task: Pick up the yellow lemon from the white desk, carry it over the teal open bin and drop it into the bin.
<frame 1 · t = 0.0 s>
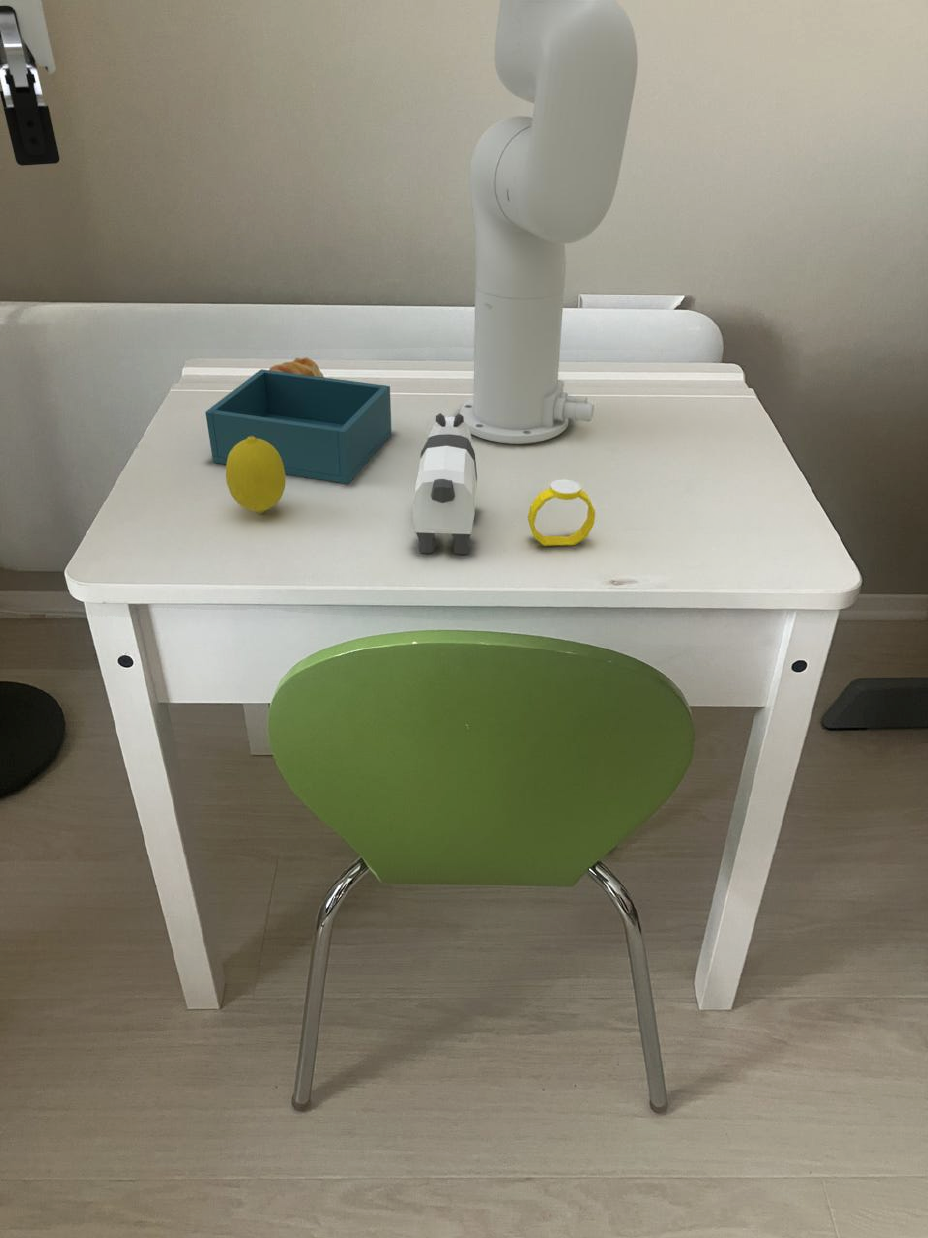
hand: (35, 152, 80), 31 cm above the table, tool pointing down, fingers open, 9 cm apart
giant panda: (447, 526, 93), on the table
teal open bin: (304, 448, 106), on the table
pastry: (290, 396, 118), on the table
lemon: (260, 514, 95), on the table
watch: (559, 544, 90), on the table
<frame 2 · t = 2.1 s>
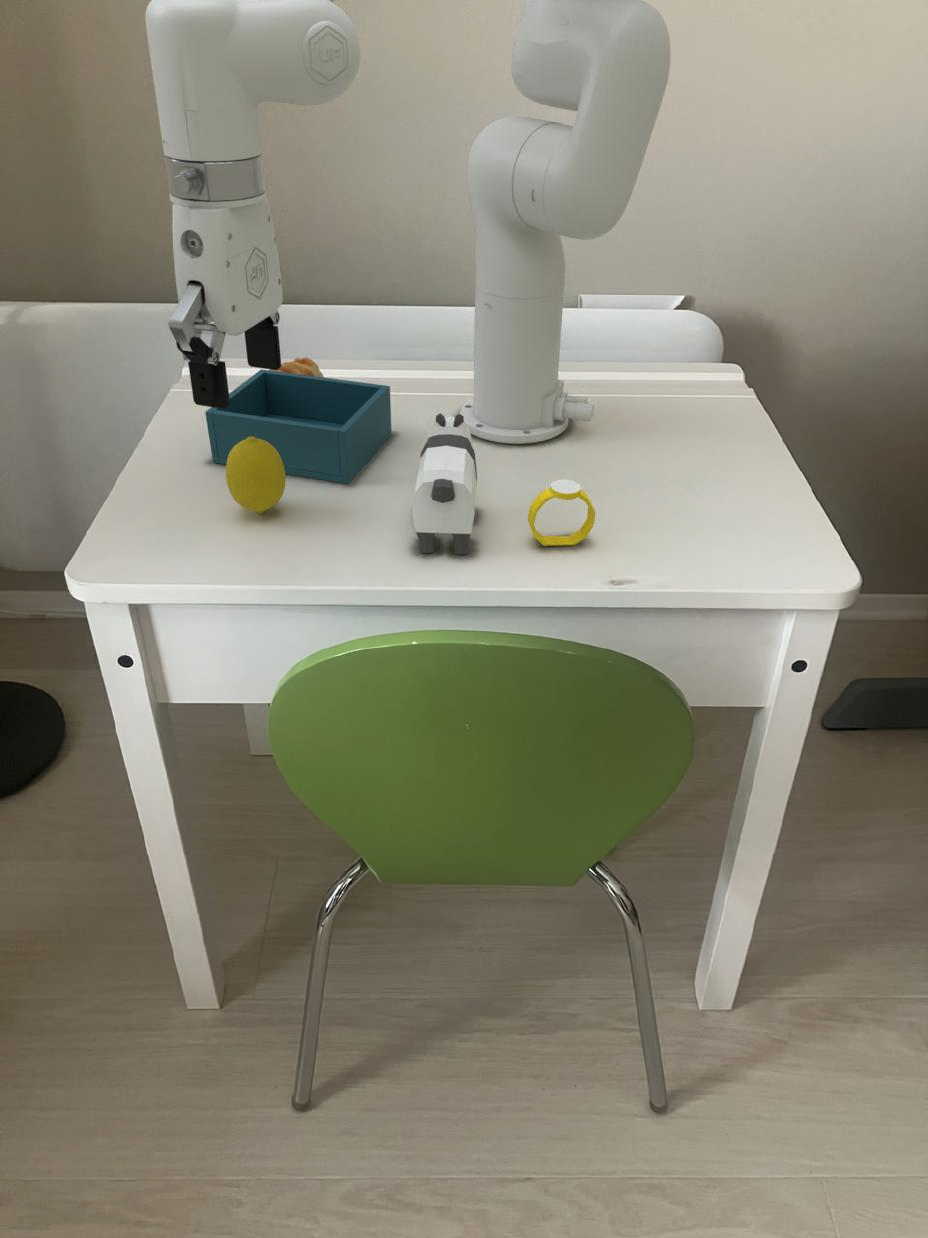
hand: (239, 385, 87), 13 cm above the table, tool pointing down, fingers open, 9 cm apart
nothing on the table moved.
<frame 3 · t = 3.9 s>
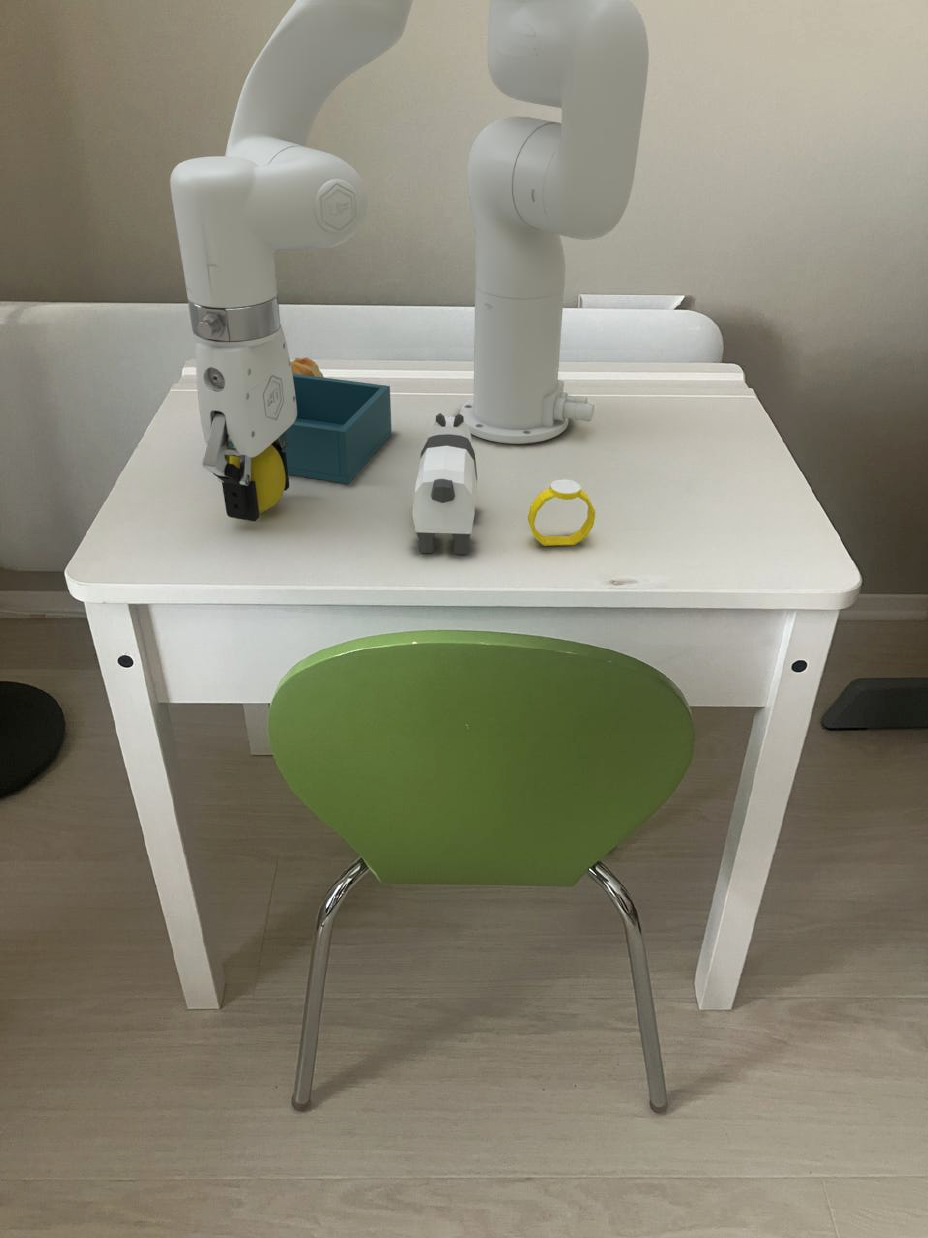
hand: (259, 500, 94), 1 cm above the table, tool pointing down, fingers closed on lemon, 5 cm apart
lemon: (260, 514, 95), on the table, touching gripper
everything else where it was.
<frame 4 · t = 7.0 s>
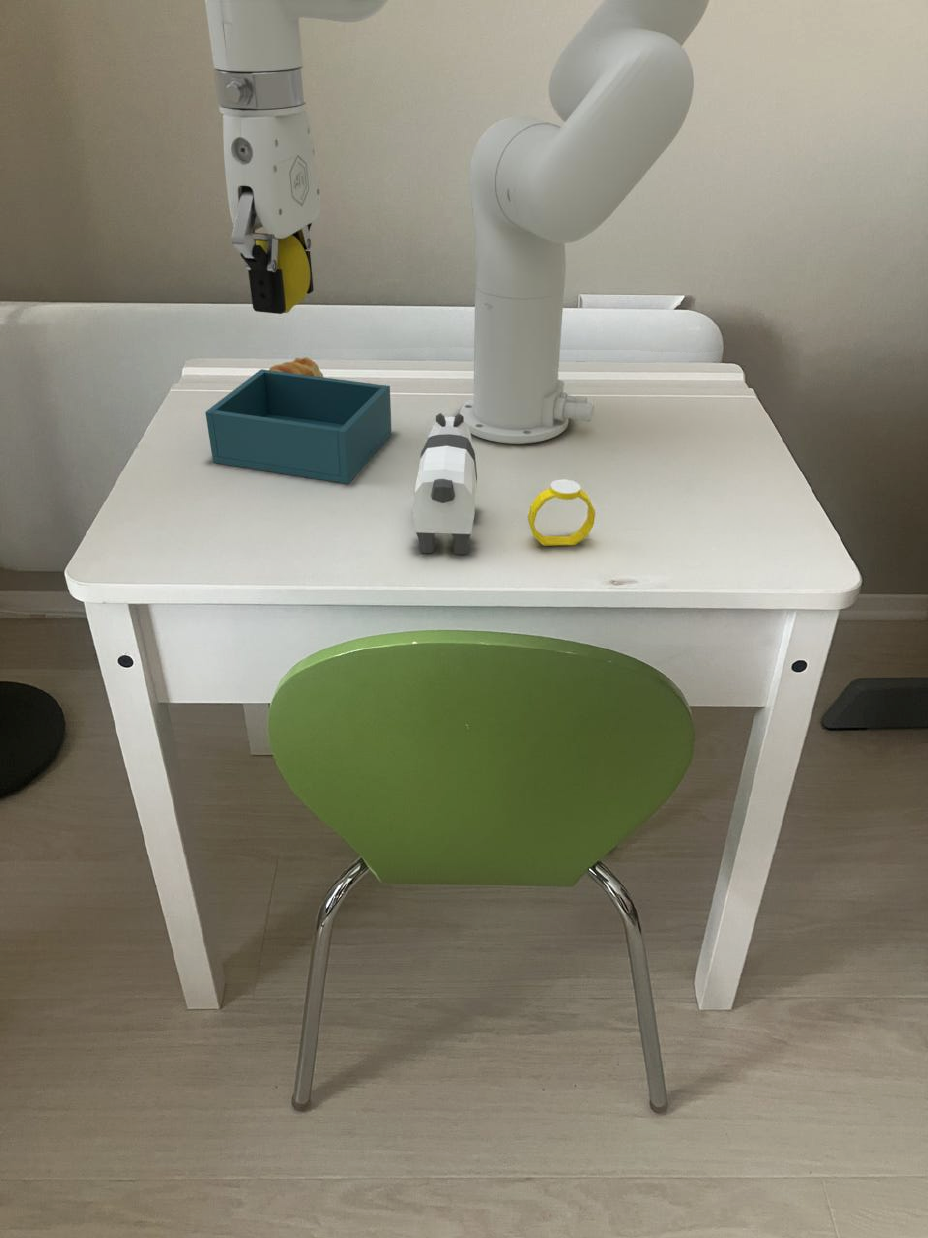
hand: (284, 299, 94), 17 cm above the table, tool pointing down, fingers closed on lemon, 5 cm apart
lemon: (285, 314, 95), point 16 cm above the table, touching gripper
everything else where it was.
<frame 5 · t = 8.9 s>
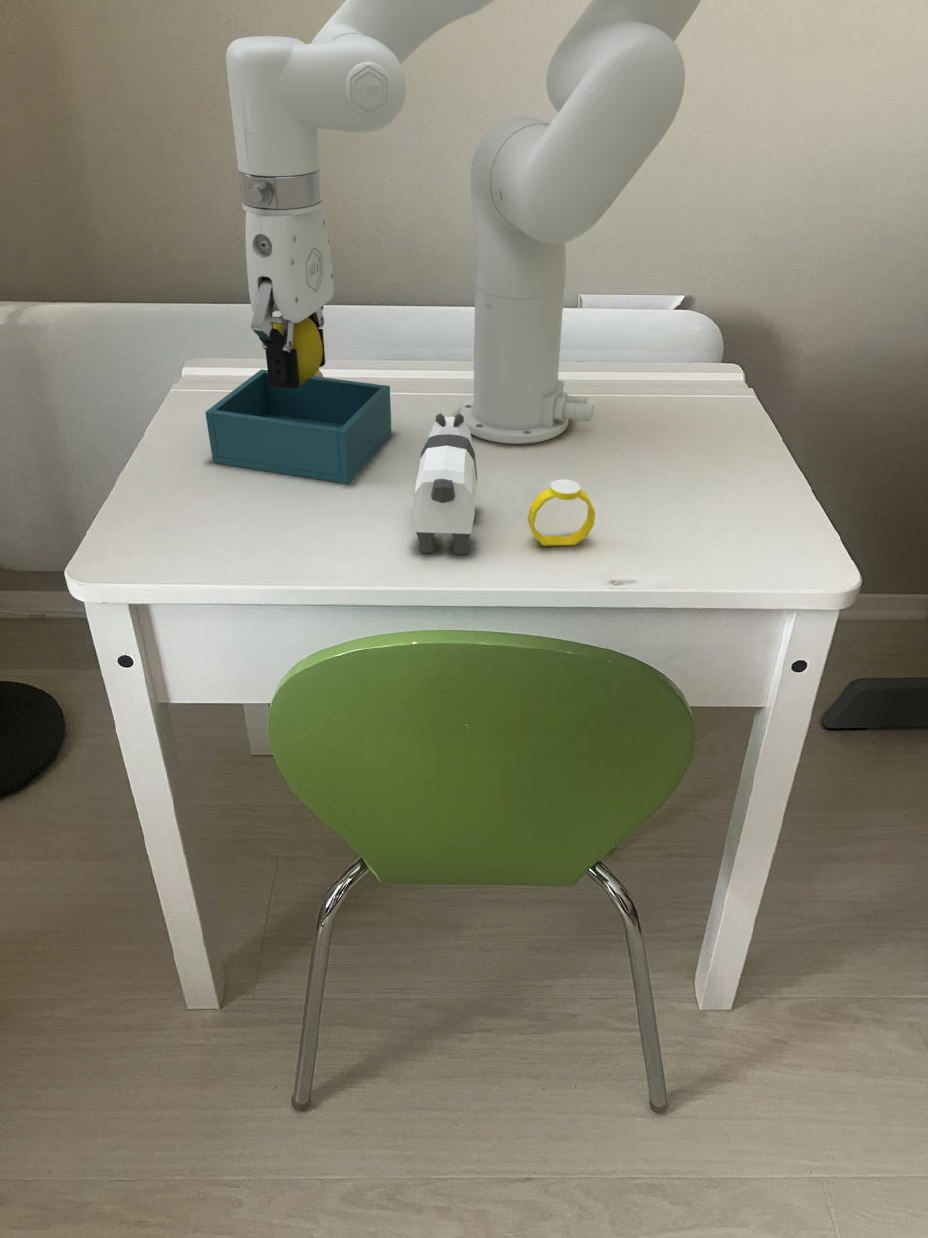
hand: (297, 373, 101), 9 cm above the table, tool pointing down, fingers closed on lemon, 5 cm apart
lemon: (298, 387, 102), point 7 cm above the table, touching gripper
everything else where it was.
when the fingers open (5 cm above the table, at t = 10.4 s): lemon drops 3 cm, resting on teal open bin.
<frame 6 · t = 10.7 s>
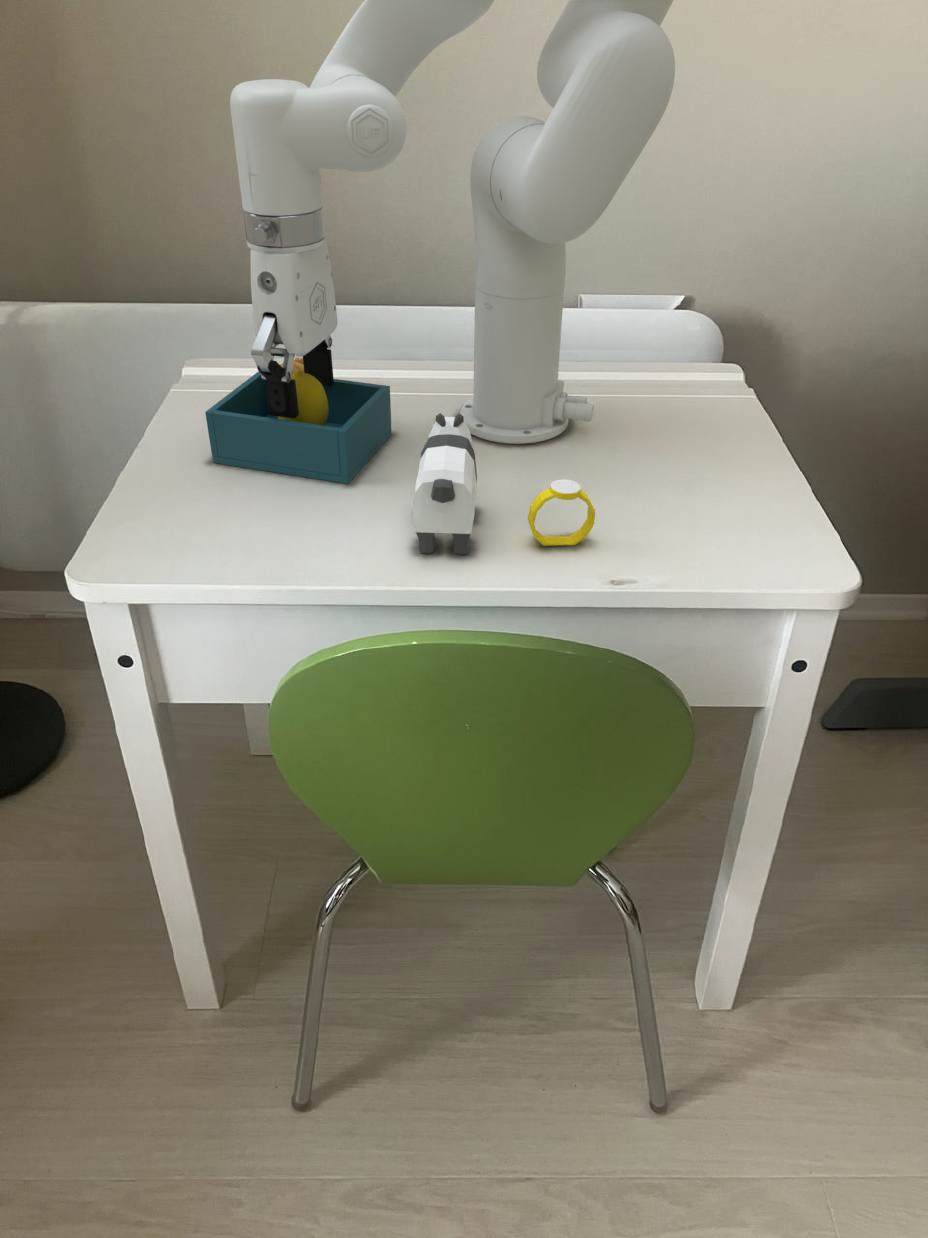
hand: (302, 398, 103), 6 cm above the table, tool pointing down, fingers open, 8 cm apart
lemon: (305, 442, 106), point 1 cm above the table, touching teal open bin
everything else where it was.
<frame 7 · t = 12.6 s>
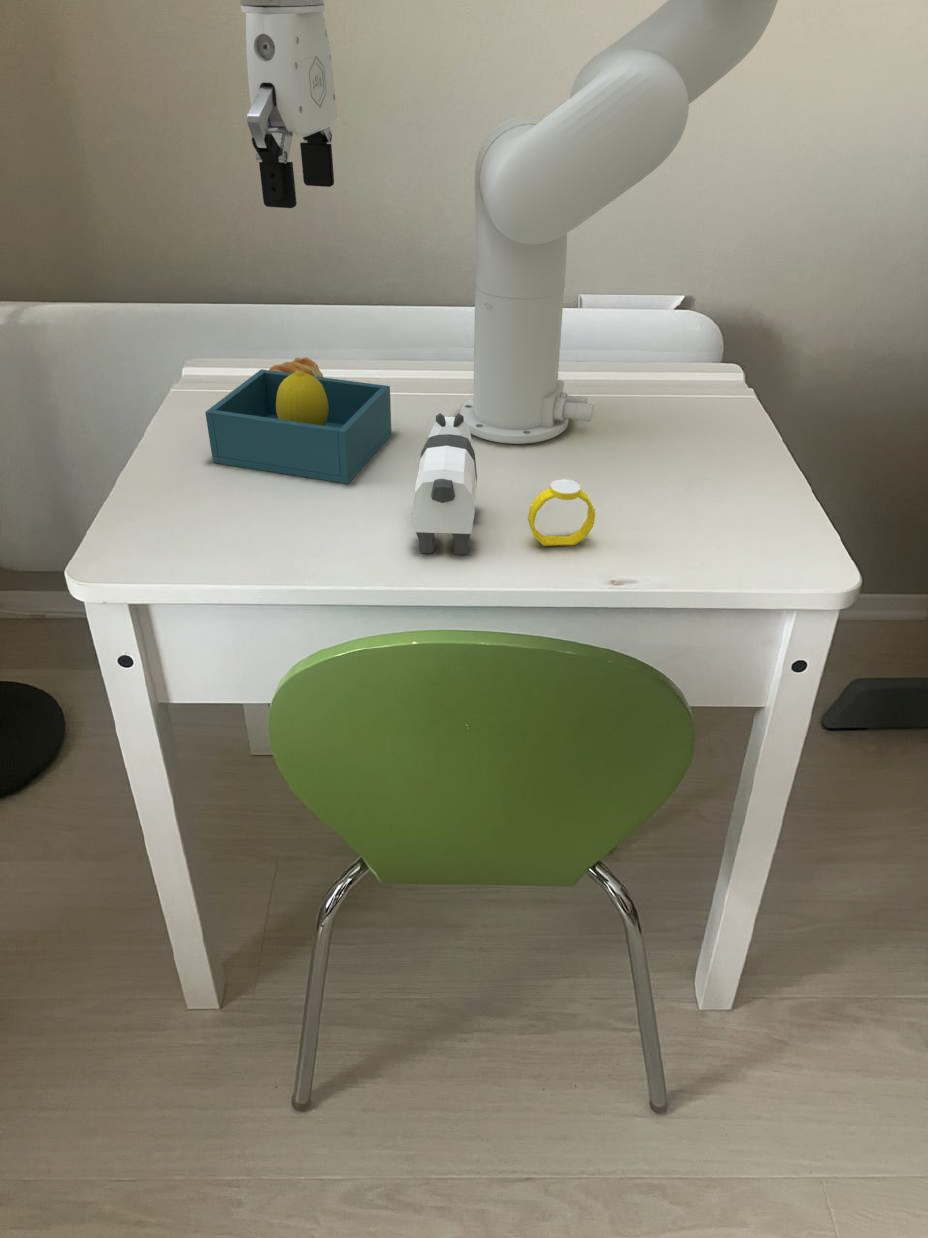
hand: (300, 195, 97), 25 cm above the table, tool pointing down, fingers open, 9 cm apart
nothing on the table moved.
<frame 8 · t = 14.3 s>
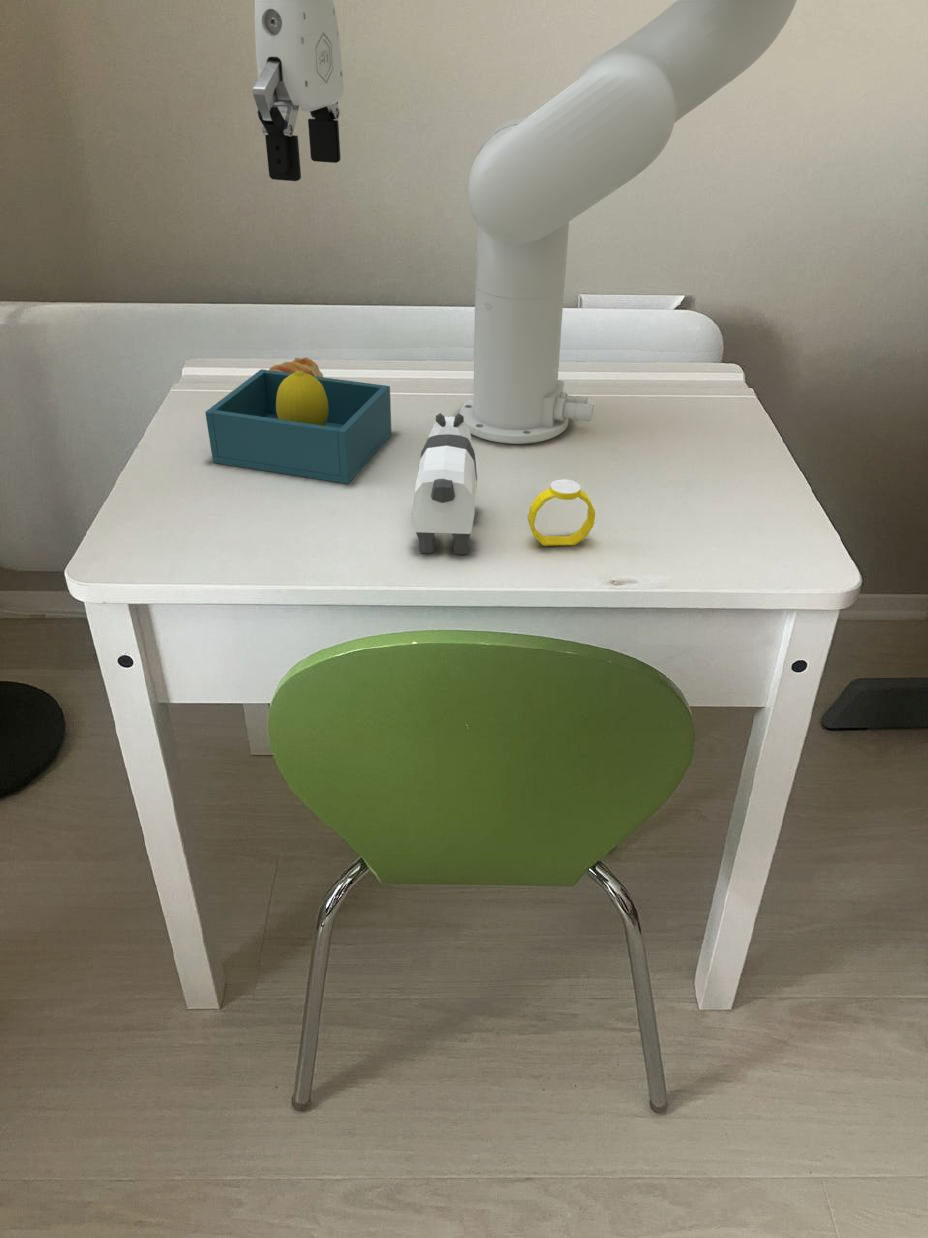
hand: (306, 170, 99), 26 cm above the table, tool pointing down, fingers open, 9 cm apart
nothing on the table moved.
at the end: lemon inside the target area in the teal open bin (0.1 cm from its centre), point 0.6 cm above the teal open bin's base; the gripper is holding nothing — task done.
